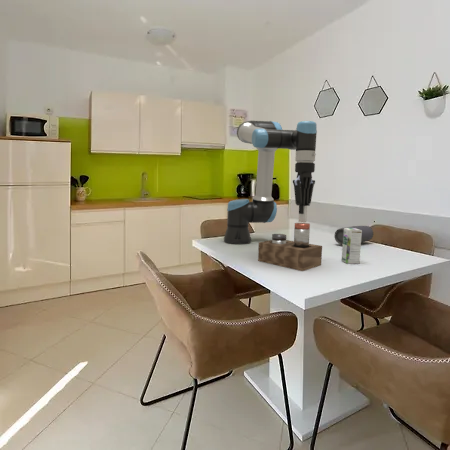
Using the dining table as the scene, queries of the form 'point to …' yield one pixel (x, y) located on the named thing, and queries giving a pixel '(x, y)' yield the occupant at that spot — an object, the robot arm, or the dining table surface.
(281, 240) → the grey lid glass jar
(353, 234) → the syrup box
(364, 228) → the bluetooth speaker
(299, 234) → the red lid glass jar
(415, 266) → the dining table surface
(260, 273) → the dining table surface
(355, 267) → the dining table surface
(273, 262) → the wooden jar holder
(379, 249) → the dining table surface
